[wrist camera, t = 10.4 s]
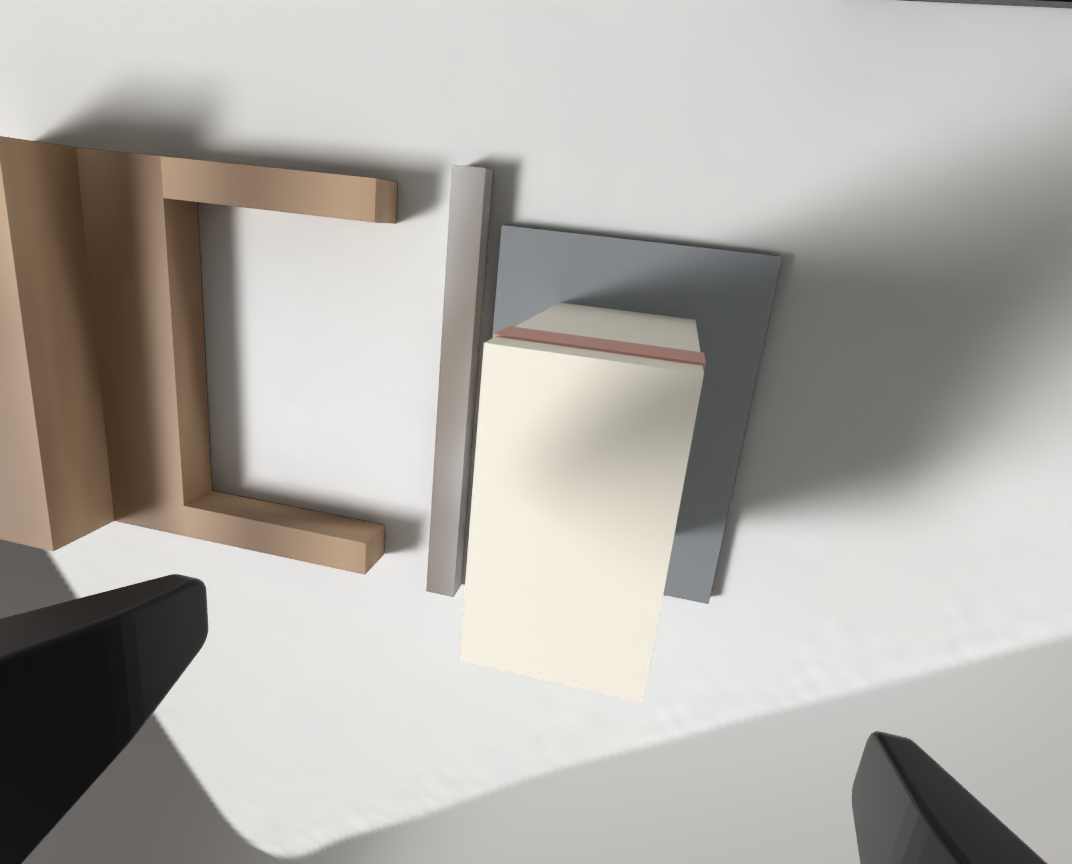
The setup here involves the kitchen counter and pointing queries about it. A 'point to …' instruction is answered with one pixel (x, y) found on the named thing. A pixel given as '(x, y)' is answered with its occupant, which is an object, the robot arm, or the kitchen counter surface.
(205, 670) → the kitchen counter surface
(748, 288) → the mat
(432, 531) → the cradle
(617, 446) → the block
